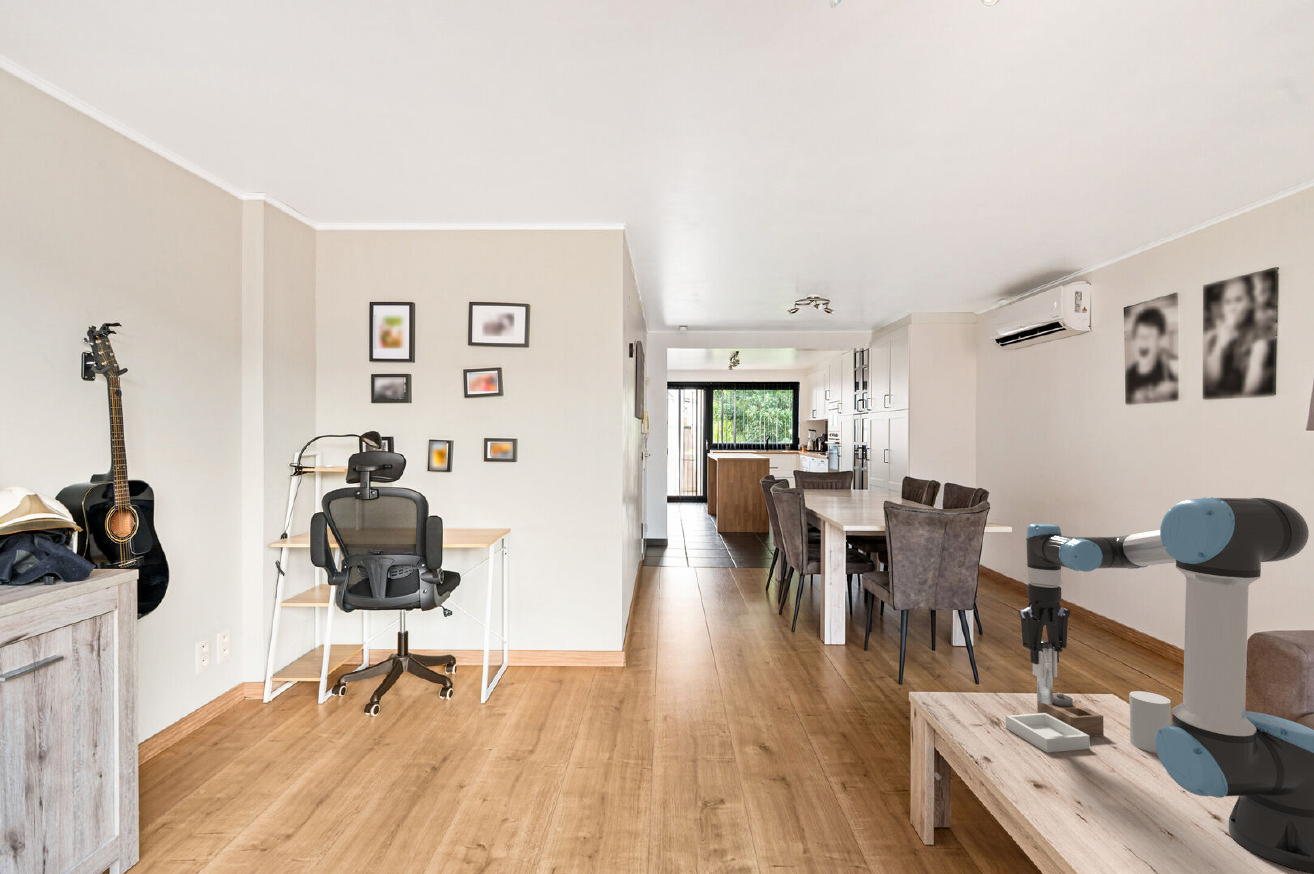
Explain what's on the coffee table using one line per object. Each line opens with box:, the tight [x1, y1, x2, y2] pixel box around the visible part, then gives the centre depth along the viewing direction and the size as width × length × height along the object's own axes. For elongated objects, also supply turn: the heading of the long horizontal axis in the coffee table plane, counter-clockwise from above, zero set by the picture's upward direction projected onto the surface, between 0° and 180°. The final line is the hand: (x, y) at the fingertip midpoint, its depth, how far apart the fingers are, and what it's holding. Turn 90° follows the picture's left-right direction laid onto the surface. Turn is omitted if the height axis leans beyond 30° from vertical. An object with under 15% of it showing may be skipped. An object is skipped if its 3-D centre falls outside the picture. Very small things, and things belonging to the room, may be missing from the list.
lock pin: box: [1036, 639, 1054, 704], centre depth 162 cm, size 3×3×15 cm
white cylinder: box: [1128, 690, 1172, 754], centre depth 157 cm, size 8×8×12 cm
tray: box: [1005, 713, 1091, 753], centre depth 161 cm, size 14×12×3 cm
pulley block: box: [1036, 691, 1105, 737], centre depth 168 cm, size 12×9×8 cm
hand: (1044, 675), depth 162 cm, fingers closed on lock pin, 3 cm apart
